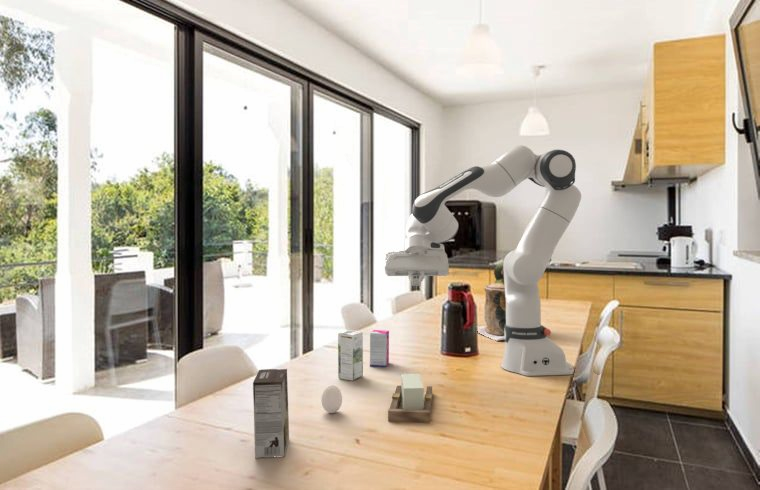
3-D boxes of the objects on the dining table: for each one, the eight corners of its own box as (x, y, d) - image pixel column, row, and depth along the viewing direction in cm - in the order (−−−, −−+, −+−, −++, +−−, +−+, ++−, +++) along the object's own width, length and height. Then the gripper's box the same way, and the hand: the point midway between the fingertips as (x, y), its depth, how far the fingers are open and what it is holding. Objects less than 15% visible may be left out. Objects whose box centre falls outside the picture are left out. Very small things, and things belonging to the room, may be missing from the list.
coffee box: (260, 440, 109) (258, 369, 109) (289, 438, 110) (288, 367, 109) (253, 459, 100) (251, 382, 99) (285, 457, 101) (283, 380, 100)
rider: (419, 398, 134) (419, 373, 134) (424, 415, 122) (423, 388, 122) (401, 399, 134) (401, 373, 134) (404, 416, 122) (403, 388, 122)
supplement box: (386, 367, 164) (386, 333, 163) (369, 366, 165) (368, 333, 164) (389, 362, 169) (389, 329, 169) (373, 361, 171) (372, 329, 170)
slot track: (432, 393, 137) (432, 384, 137) (429, 422, 117) (429, 412, 117) (396, 392, 139) (396, 383, 139) (387, 421, 118) (387, 410, 118)
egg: (319, 410, 126) (318, 382, 126) (339, 407, 128) (338, 380, 128) (324, 418, 121) (323, 388, 121) (344, 414, 123) (344, 386, 123)
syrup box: (348, 373, 157) (347, 329, 157) (363, 376, 154) (362, 331, 154) (338, 378, 152) (337, 332, 152) (353, 381, 149) (352, 334, 149)
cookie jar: (468, 330, 219) (467, 259, 218) (515, 326, 226) (515, 257, 225) (497, 342, 195) (496, 263, 194) (549, 337, 203) (548, 261, 202)
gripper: (385, 245, 158) (381, 278, 149) (448, 244, 155) (448, 278, 146) (387, 257, 163) (383, 290, 153) (448, 257, 160) (449, 290, 150)
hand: (416, 284), depth 150 cm, fingers closed
